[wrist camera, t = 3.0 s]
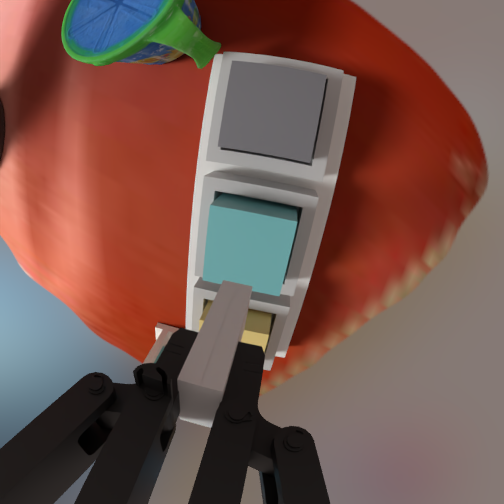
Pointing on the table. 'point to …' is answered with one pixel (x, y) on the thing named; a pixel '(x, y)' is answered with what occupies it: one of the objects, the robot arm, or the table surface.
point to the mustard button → (250, 326)
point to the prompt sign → (160, 341)
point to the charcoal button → (271, 110)
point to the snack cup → (135, 32)
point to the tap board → (269, 193)
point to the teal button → (249, 242)
